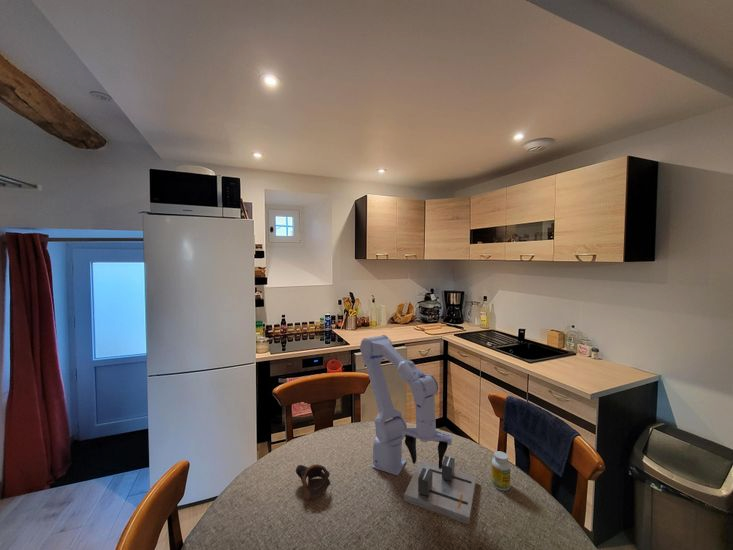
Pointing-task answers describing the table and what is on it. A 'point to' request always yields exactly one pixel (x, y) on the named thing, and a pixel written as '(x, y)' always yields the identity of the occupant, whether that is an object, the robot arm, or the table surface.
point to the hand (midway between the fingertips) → (427, 464)
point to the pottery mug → (311, 473)
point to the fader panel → (444, 493)
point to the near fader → (425, 481)
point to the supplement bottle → (500, 471)
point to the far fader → (448, 468)
